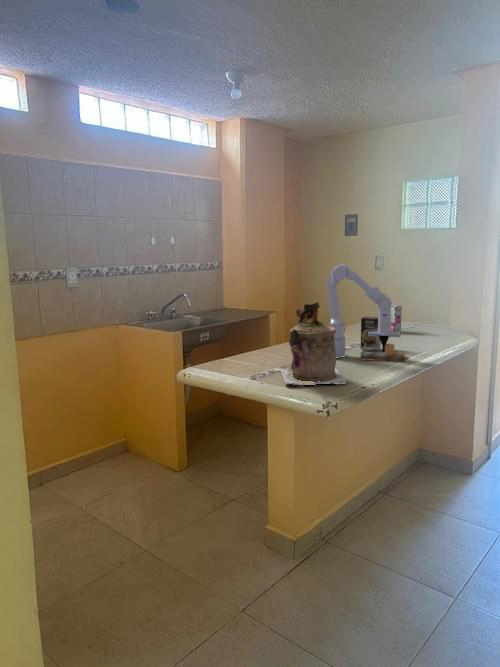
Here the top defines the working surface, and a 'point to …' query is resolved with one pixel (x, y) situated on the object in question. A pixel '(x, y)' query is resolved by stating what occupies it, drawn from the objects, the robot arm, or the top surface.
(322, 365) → the cookie jar
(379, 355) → the trap channel
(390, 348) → the block
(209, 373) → the top surface
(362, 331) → the coffee box
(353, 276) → the robot arm
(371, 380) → the top surface
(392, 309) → the candy bar box
